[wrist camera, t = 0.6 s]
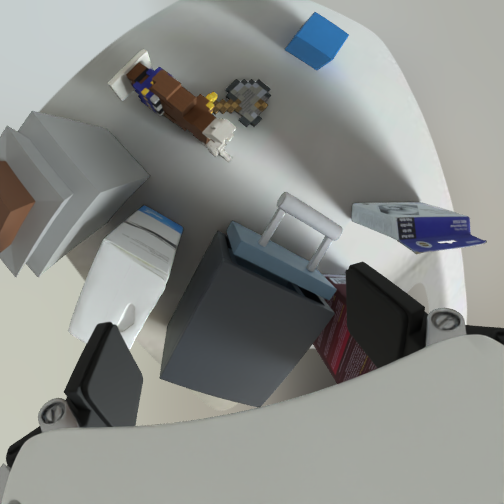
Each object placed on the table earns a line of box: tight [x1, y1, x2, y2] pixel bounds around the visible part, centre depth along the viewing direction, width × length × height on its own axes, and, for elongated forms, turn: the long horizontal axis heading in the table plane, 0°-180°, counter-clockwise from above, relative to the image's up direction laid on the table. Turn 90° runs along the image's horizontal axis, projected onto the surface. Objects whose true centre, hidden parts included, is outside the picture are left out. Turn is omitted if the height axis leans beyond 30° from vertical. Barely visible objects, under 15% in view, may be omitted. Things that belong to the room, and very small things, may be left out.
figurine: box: [108, 49, 271, 162], centre depth 20 cm, size 8×10×12 cm
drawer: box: [227, 192, 343, 300], centre depth 25 cm, size 16×9×7 cm, turn 150°
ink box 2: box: [352, 202, 487, 254], centre depth 25 cm, size 12×2×12 cm, turn 92°
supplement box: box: [313, 274, 378, 384], centre depth 25 cm, size 9×5×16 cm, turn 173°
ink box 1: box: [68, 206, 183, 350], centre depth 21 cm, size 8×5×12 cm, turn 146°
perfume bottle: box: [0, 111, 150, 277], centre depth 15 cm, size 7×7×18 cm
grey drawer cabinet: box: [160, 231, 335, 407], centre depth 26 cm, size 13×11×9 cm
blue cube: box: [285, 12, 349, 70], centre depth 21 cm, size 4×4×4 cm
